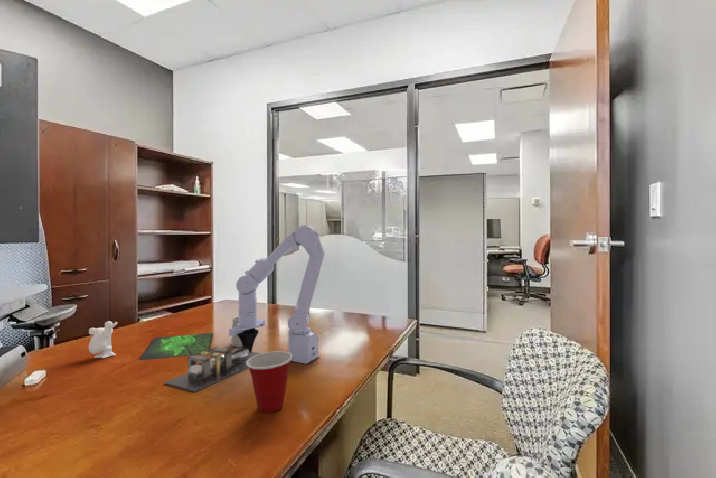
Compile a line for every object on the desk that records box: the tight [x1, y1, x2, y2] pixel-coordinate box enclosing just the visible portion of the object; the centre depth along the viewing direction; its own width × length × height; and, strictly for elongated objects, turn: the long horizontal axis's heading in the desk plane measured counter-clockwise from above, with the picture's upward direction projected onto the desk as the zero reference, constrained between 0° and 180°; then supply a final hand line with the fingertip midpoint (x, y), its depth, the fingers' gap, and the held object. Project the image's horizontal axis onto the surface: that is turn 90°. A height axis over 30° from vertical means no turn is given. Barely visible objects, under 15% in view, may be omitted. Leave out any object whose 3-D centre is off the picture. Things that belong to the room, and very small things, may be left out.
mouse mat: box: [138, 332, 214, 361], centre depth 137 cm, size 27×22×1 cm
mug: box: [230, 316, 243, 348], centre depth 141 cm, size 8×12×12 cm, turn 15°
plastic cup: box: [246, 350, 292, 414], centre depth 88 cm, size 11×11×12 cm
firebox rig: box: [163, 346, 262, 393], centre depth 113 cm, size 12×31×6 cm, turn 154°
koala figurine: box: [88, 320, 118, 359], centre depth 124 cm, size 8×7×12 cm
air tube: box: [187, 346, 249, 378], centre depth 112 cm, size 20×3×4 cm, turn 154°
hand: (247, 352), depth 122 cm, fingers closed
